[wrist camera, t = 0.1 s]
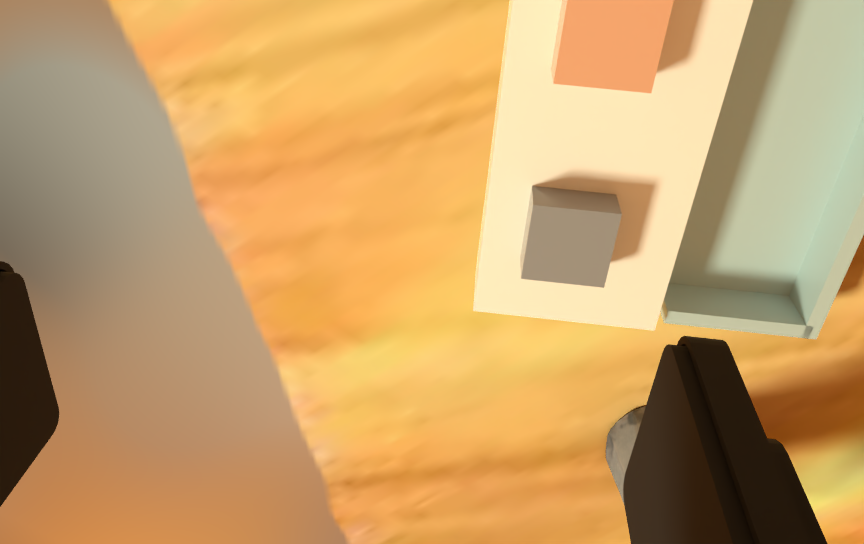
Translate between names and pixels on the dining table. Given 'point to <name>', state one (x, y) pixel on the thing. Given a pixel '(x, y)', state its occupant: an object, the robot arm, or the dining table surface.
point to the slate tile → (569, 236)
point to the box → (779, 177)
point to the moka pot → (622, 445)
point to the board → (603, 160)
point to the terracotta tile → (610, 43)
